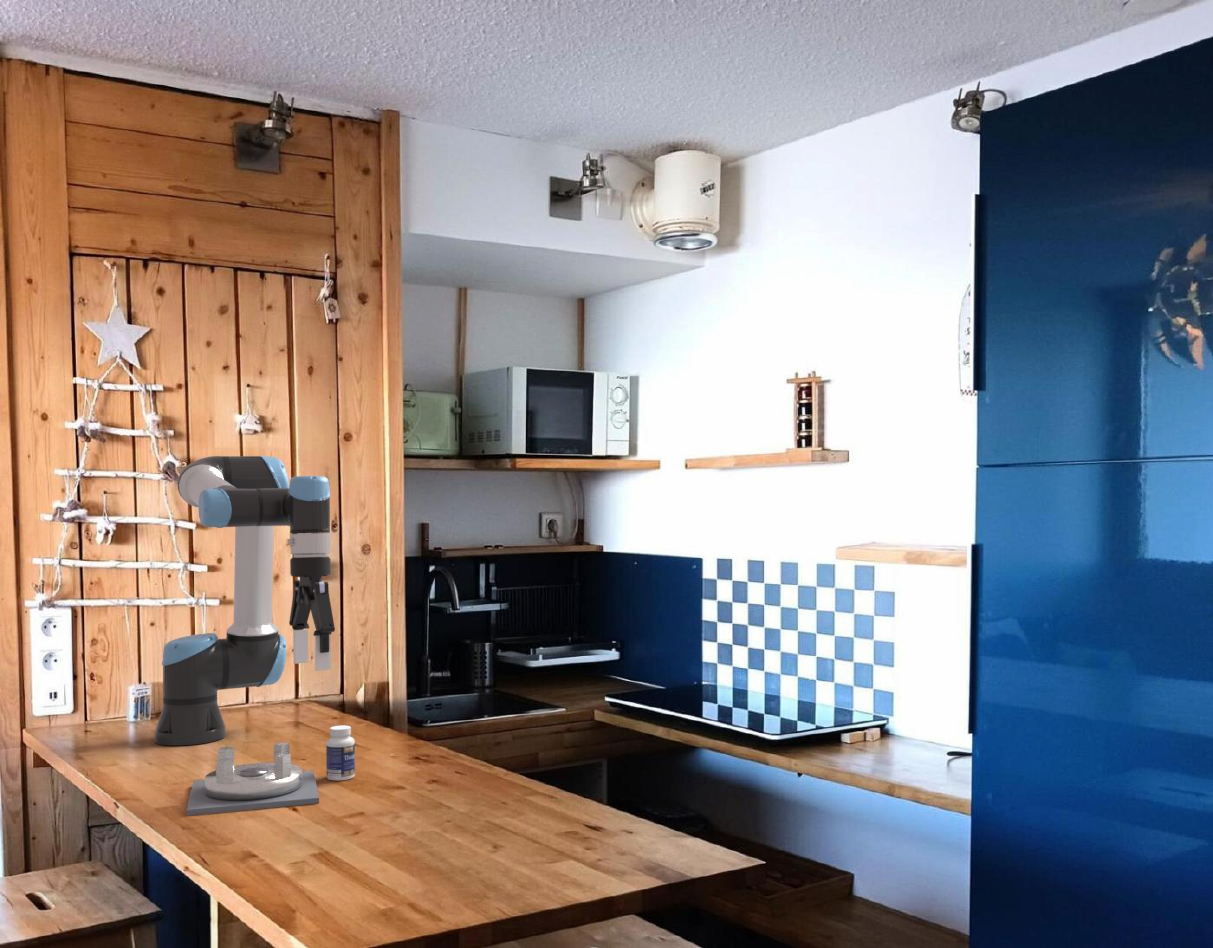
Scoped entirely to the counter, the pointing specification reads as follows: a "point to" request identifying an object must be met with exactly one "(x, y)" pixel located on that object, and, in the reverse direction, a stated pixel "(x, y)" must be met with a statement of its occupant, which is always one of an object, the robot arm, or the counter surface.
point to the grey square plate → (208, 805)
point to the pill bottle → (340, 754)
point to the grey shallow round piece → (253, 776)
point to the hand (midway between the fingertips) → (311, 666)
